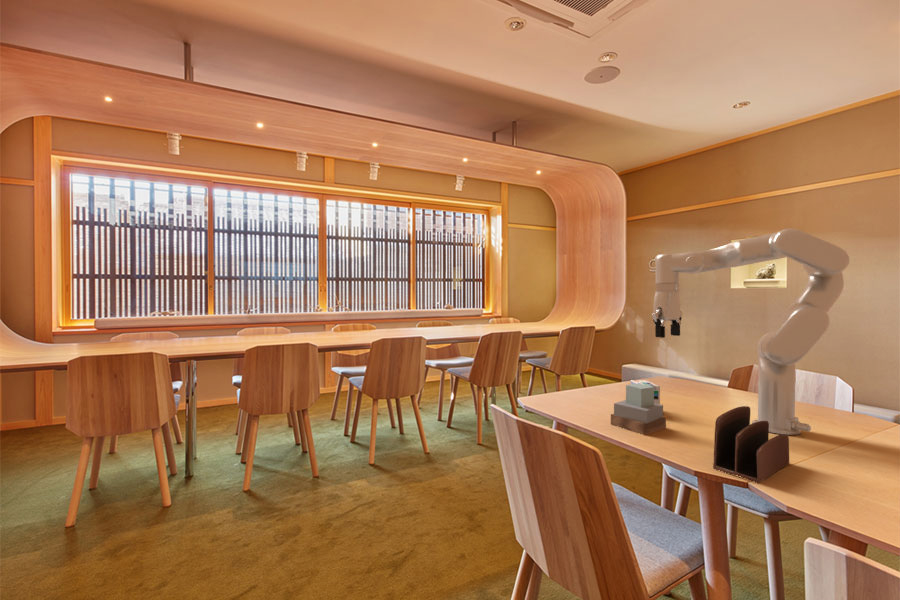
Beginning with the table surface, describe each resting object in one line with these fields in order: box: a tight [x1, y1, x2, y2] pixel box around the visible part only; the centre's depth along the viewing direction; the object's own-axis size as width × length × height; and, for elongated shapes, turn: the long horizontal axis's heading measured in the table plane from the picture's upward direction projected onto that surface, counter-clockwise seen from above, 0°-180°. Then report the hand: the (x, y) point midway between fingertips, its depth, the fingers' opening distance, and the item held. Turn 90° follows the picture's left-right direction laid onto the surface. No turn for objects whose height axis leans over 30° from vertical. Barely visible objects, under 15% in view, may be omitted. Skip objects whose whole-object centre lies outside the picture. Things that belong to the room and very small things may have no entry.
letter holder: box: [712, 405, 790, 484], centre depth 107 cm, size 10×20×14 cm, turn 125°
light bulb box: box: [630, 379, 661, 404], centre depth 156 cm, size 11×7×11 cm, turn 179°
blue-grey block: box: [625, 383, 654, 407], centre depth 139 cm, size 6×6×6 cm
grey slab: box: [613, 399, 664, 424], centre depth 139 cm, size 11×11×4 cm
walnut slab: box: [610, 413, 667, 436], centre depth 139 cm, size 12×12×4 cm
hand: (667, 336), depth 150 cm, fingers open, 9 cm apart
